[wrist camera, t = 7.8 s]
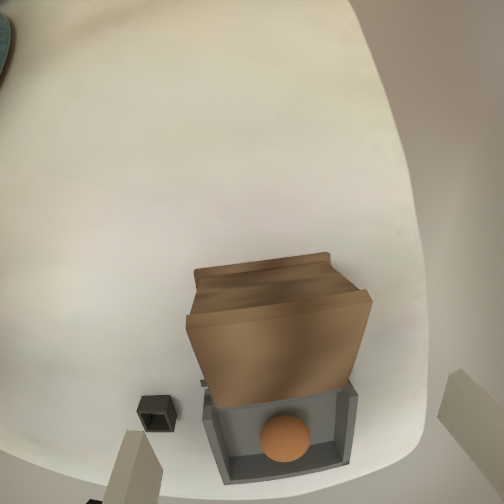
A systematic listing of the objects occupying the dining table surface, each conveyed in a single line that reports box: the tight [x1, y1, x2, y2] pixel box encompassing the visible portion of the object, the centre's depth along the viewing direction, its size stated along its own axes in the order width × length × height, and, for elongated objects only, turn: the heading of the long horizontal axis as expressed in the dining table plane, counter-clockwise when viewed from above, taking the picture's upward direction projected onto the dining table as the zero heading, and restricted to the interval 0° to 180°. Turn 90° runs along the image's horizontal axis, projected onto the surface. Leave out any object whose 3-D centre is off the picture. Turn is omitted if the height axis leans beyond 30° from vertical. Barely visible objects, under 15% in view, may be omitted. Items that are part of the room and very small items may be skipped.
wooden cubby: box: [186, 252, 373, 408], centre depth 21 cm, size 11×10×10 cm
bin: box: [202, 379, 358, 485], centre depth 27 cm, size 14×11×4 cm
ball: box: [259, 415, 311, 462], centre depth 26 cm, size 5×5×5 cm
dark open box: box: [137, 395, 177, 432], centre depth 26 cm, size 3×3×2 cm
